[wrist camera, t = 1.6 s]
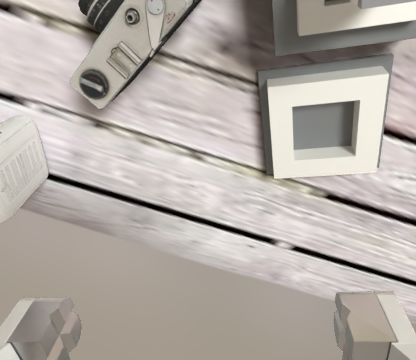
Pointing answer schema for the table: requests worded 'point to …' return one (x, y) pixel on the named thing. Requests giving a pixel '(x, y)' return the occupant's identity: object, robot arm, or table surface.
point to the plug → (377, 3)
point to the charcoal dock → (330, 38)
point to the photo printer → (19, 164)
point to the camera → (124, 42)
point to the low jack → (325, 116)
